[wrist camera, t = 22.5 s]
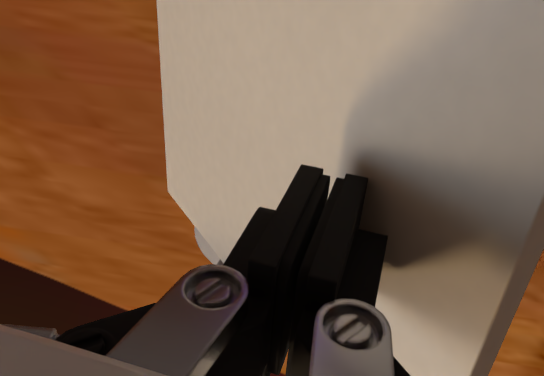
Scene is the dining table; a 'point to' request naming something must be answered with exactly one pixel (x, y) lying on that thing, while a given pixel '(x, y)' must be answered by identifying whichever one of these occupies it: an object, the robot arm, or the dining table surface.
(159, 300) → the robot arm
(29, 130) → the dining table surface
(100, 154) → the dining table surface
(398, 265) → the cooler lid
